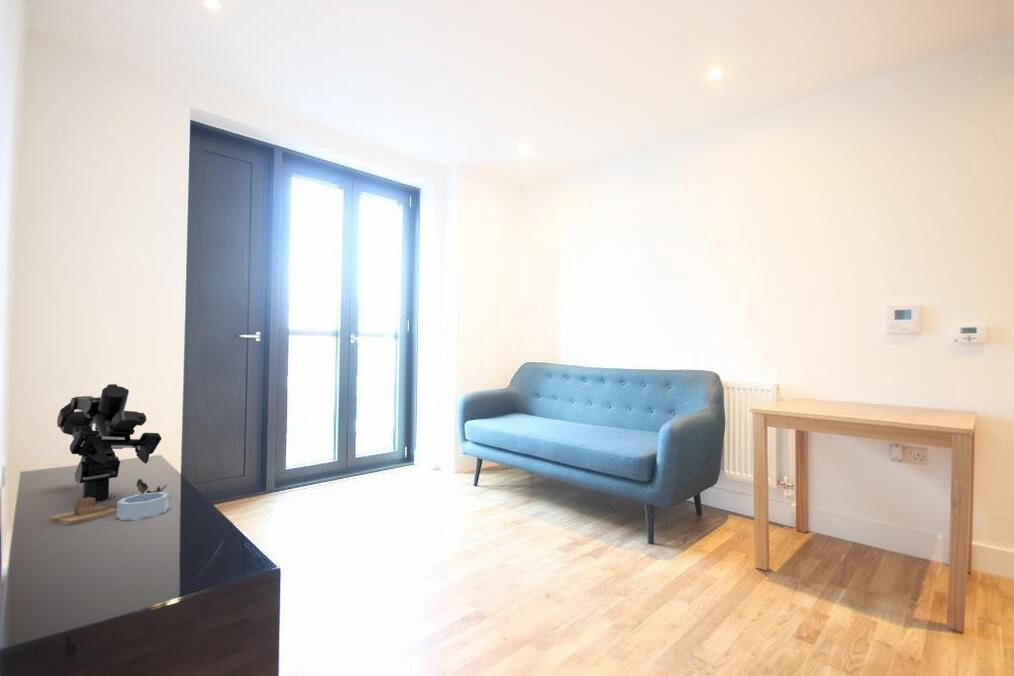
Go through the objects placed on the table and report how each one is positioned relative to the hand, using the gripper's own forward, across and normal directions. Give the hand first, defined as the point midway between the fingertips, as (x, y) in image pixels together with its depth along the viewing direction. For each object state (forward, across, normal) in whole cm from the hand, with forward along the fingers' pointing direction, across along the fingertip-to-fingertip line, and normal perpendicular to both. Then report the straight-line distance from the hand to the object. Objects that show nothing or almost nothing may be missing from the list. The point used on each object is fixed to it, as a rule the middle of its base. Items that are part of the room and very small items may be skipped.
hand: (126, 462), depth 121 cm
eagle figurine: (-1, +10, +15) cm, 18 cm away
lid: (+2, -3, +16) cm, 16 cm away
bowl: (+11, +5, +9) cm, 15 cm away
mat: (+2, -3, +16) cm, 17 cm away
